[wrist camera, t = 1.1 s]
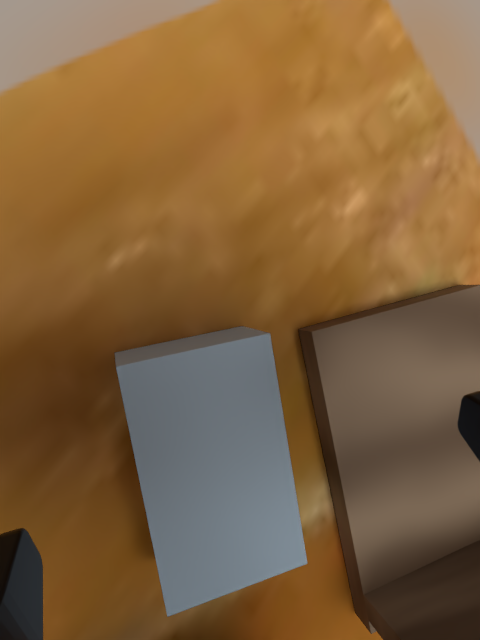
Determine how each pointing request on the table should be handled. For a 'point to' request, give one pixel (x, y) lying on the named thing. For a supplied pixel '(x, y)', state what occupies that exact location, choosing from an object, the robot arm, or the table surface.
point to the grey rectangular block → (212, 462)
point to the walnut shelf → (403, 459)
